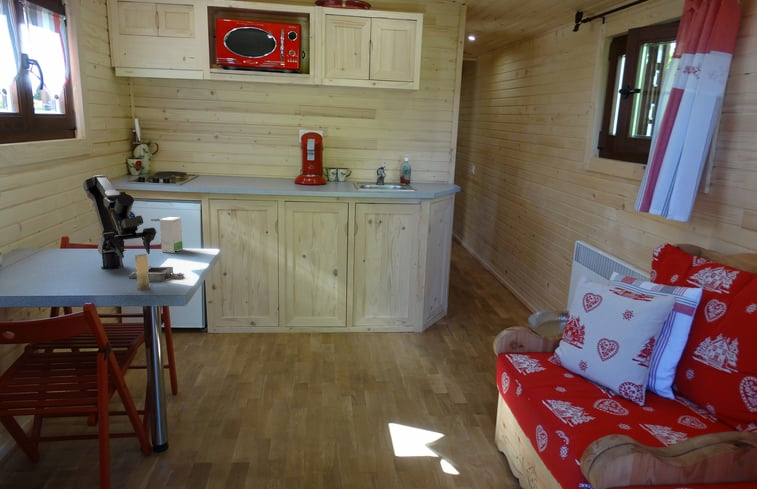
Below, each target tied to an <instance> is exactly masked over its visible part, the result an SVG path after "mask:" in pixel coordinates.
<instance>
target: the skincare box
mask: <svg viewBox="0 0 757 489" xmlns="http://www.w3.org/2000/svg"><path fill="white" fill-rule="evenodd" d="M159 227H160V228H159V230H160V231H159V232H160V240H161V241H160V242H161V243H160V244H161V252H162V253H170V254H171V253H172V254H173V253H174V254H175V253H176V252H175V251H177V252H179V251H182V250H183V249H184V244H183V230H182V228H183V227H182V217H179V216H175V217H173V216H167V217H163V218H160V219H159Z"/></svg>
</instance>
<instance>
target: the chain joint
mask: <svg viewBox="0 0 757 489" xmlns="http://www.w3.org/2000/svg"><path fill="white" fill-rule="evenodd" d="M148 271H149V282H166V281H167V280H182V279H183V278H184V277H185V274H184V273H182V272H178V273H175V272H174V267H173V266H149V265H148ZM129 279H137V272H136V271H133V272H131V274H129Z"/></svg>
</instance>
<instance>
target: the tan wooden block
mask: <svg viewBox="0 0 757 489" xmlns="http://www.w3.org/2000/svg"><path fill="white" fill-rule="evenodd" d="M134 258H135V268H136V271H135V272H136V273H137V278H136V280H137V281H136V283H137V289H138V290H140V291H143V290H144V291H145V290H149V289H150V288H151V287H150V281H149V271H148V267H149V261H148V254H147V253H139V254H136V255H135V256H134Z"/></svg>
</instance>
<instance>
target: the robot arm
mask: <svg viewBox="0 0 757 489" xmlns="http://www.w3.org/2000/svg"><path fill="white" fill-rule="evenodd" d="M108 178H109V177H108V176H107V175H105V174H97V175H96V174H95V175H93V176H92V177H91V178H87V179H86V180H85V179H84V182H83V185H82V187H83V192H85V194H86V196H87V197H88V198H89V200H91V201H93V205H94V208H95V212H96V215H97V219H98V223H99V226H100V229H101V234H100V238H99V242H98V246H97V252H98V254H99V255H101V258H102V266H101V267H100V268H101V269H111V270H112V269H114V270H117V269H119V268H121V267H122V266H123V265H124V263H123V262H124V261H123V259H124V258H125V255H124V252H125V251H124V250H125V240H134V239H141V240H142V244H143V247H144V249H145V252H146V254H147V255H149V254H150V252H151V250H150V249H151V243H152V241H154V240H155V238H156V234H157V233H158V232H157V230H156V228H155V227H152V226H151V227H145V228H143V230H142V232H137V231H139V230H138V229H139V228H138V227H140V225H143V224H144V218H143V217H142V215H136V216H135V217H131V216H130V213H131V211H132V209H133V206H134V203H135V199H134V197H132V195H130V194H129V193H126V191H121V190H116V189H115V187H114V186H113V185H112V183H111V182H110V181H109V179H108ZM110 210H112V211H111V212H110ZM110 213H111V214H110ZM112 220H113V221H114V223H113V221H112ZM114 225H115V227H114Z"/></svg>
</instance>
